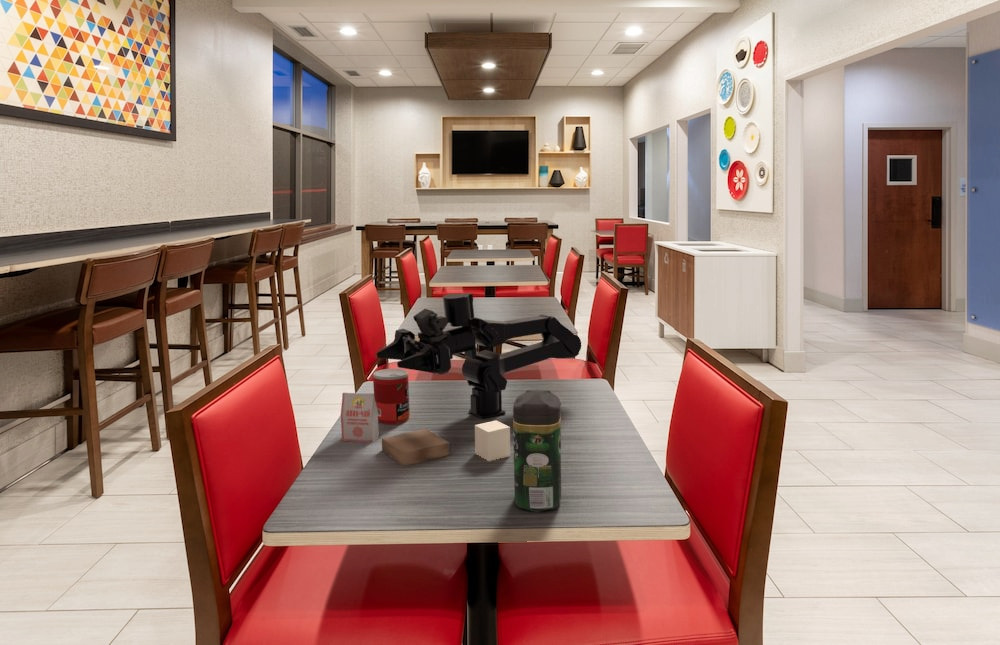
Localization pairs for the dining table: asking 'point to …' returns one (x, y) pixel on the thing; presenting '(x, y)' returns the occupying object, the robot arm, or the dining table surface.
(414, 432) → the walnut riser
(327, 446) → the dining table surface
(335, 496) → the dining table surface
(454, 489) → the dining table surface
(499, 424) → the cream block
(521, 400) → the coffee jar
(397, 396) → the canned food
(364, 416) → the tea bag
